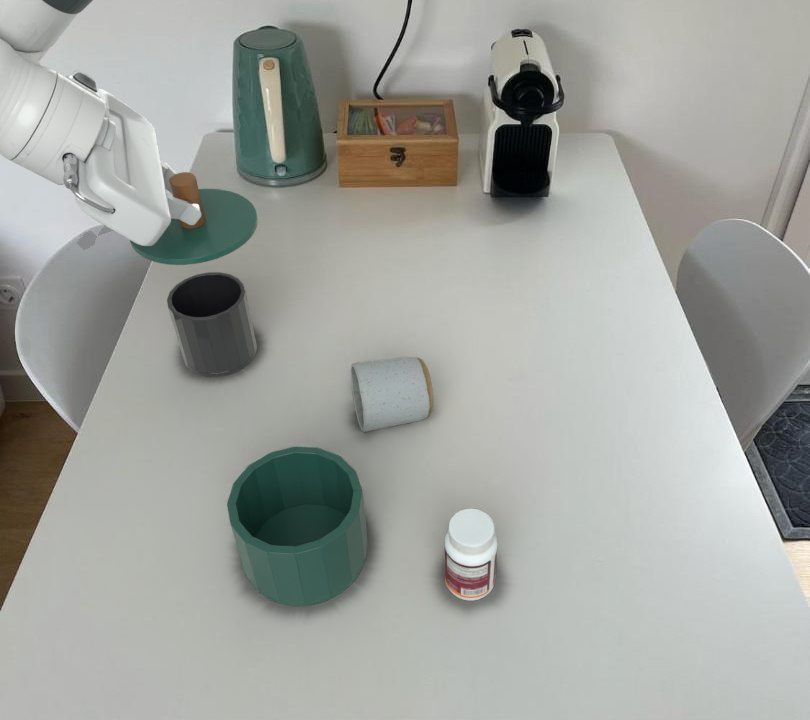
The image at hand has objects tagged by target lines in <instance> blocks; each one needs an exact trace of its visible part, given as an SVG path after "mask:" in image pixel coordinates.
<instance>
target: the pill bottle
mask: <svg viewBox="0 0 810 720" xmlns="http://www.w3.org/2000/svg"><path fill="white" fill-rule="evenodd" d="M495 531H496V529H495V522H494V520H493V519H492V517H491V516H490V514H488V513H487V512H485V511H484V510H481V509H477V508H471V507H470V508H464V509H461V510H458V511H457V512H455V513H454V514H453V515H452V516H451V518H450V520H449V522H448V530H447V532H446V534H445V536H444V542H443V547H444V549H443V550H444V582H445V586H446V588H447V589H448V590H449V592H451V594H452V595H453V596H455V597H457V598H458V599H460V600H464V601H478V600H481V599H483V598H485V597H486V596H488V595H489V594H490V593H491V592H492V590H493V588H494V586H495V583H496V577H497V576H496V575H497V559H498V548H499V543H498V538H497V535H496V532H495Z"/></svg>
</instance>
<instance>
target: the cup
mask: <svg viewBox="0 0 810 720" xmlns="http://www.w3.org/2000/svg"><path fill="white" fill-rule="evenodd" d="M166 303H167V308H168V309H167V310H168V311H169V316H170V319H171V322H172V326H173V328H174V332H175V335H176V339H177V342H178V346H179V349H180V352H181V353H180V354H181V356H182V359H183V361H184V364H185V366H186V367H187V368H188V369H189V371H190V372H192V373H194V374H196V375H199V376H202V377H206V378H209V377H210V378H217V377H219V378H220V377H225V376H229V375H233V374H234V373H238V372H239V371H241V370H243V369H245V368H246V367H247V366H248V365H249V364H250V363H251V362H252V361H253V360H254V358H255V357H256V354H257V350H258V346H257V339H256V334H255V330H254V325H253V322H252V315H251V310H250V306H249V300H248V297H247V291H246V287H245V283H243V282H242V281H241V280H240V278H239V277H237V276H234V275H232V274H231V273H226V272H219V271H212V272H211V271H209V272H202V273H197V274H195V275H192V276H189V277H187V278H184V279H183V280H181V281H180V282H178V283H177V284H176V285H175V286H174V287H173V288H172V289H171V290H170V291H169V294H168V295H167V299H166Z"/></svg>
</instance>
